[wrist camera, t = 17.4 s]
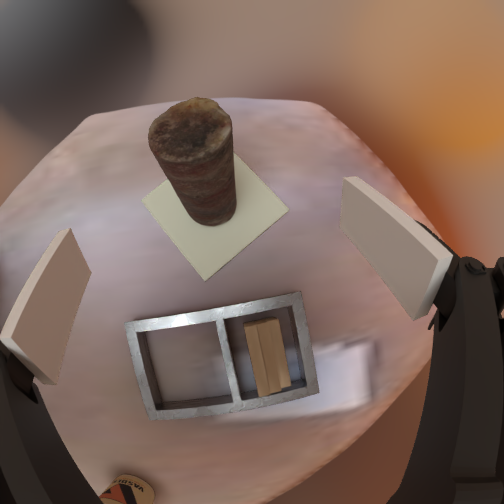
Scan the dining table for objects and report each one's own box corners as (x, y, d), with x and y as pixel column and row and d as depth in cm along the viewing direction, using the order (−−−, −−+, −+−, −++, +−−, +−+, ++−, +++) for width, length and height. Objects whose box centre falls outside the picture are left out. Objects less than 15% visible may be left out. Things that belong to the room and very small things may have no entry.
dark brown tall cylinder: (191, 235, 38) (150, 171, 19) (180, 190, 39) (142, 104, 20) (242, 220, 39) (249, 145, 19) (229, 176, 40) (225, 82, 20)
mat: (142, 201, 39) (141, 200, 39) (221, 141, 42) (221, 139, 41) (205, 281, 38) (204, 281, 37) (288, 211, 40) (289, 209, 40)
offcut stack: (255, 382, 36) (259, 397, 29) (243, 322, 37) (244, 327, 31) (284, 375, 36) (293, 389, 30) (273, 316, 38) (280, 320, 31)
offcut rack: (155, 411, 34) (149, 420, 30) (133, 320, 36) (124, 322, 33) (312, 385, 36) (319, 392, 32) (295, 292, 38) (300, 291, 35)
